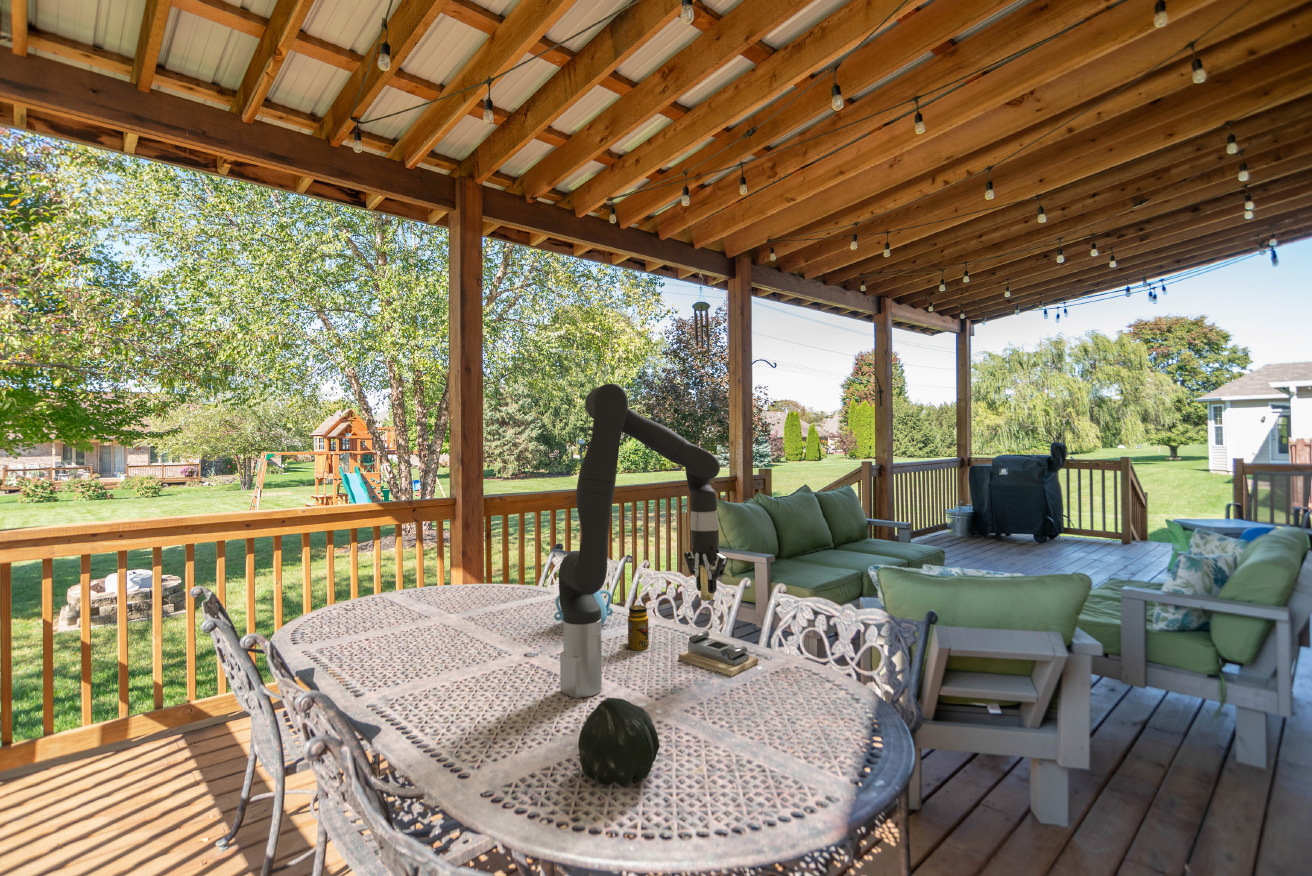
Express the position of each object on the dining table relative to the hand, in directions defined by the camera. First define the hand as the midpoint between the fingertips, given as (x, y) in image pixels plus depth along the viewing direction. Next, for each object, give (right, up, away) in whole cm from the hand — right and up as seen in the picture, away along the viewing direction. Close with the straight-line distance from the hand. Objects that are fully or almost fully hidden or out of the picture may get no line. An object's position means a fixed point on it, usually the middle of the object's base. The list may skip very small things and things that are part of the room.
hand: (706, 591), depth 163 cm
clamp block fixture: (+3, -20, +3) cm, 21 cm away
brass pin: (0, -2, 0) cm, 2 cm away
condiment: (-20, -21, +15) cm, 32 cm away
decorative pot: (-37, -21, +37) cm, 57 cm away
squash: (-20, -20, -53) cm, 60 cm away
